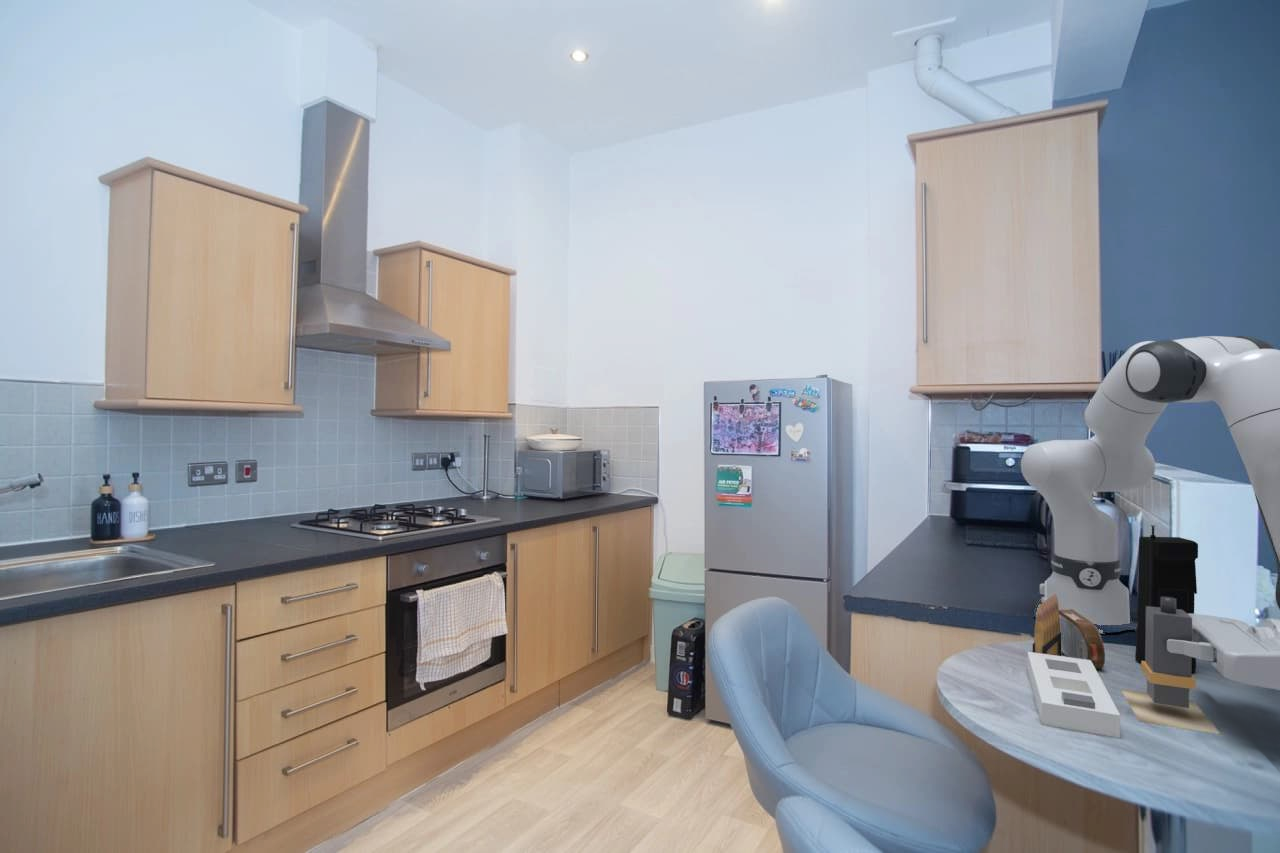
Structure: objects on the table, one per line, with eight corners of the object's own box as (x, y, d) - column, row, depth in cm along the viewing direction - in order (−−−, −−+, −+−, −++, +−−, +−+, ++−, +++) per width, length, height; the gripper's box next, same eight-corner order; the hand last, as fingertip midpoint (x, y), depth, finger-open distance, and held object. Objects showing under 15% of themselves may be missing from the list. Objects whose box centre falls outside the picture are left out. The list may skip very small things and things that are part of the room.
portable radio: (1178, 661, 118) (1180, 522, 118) (1204, 674, 112) (1206, 528, 112) (1132, 659, 119) (1133, 521, 119) (1154, 672, 113) (1156, 527, 113)
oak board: (1120, 695, 104) (1120, 689, 104) (1192, 706, 100) (1192, 699, 100) (1139, 727, 93) (1139, 720, 93) (1221, 741, 89) (1221, 734, 89)
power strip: (1027, 674, 112) (1027, 646, 112) (1090, 684, 108) (1090, 655, 108) (1041, 730, 92) (1042, 696, 92) (1119, 744, 88) (1120, 709, 88)
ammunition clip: (1044, 676, 111) (1044, 606, 111) (1031, 673, 113) (1032, 603, 113) (1061, 660, 119) (1062, 594, 119) (1049, 657, 120) (1050, 592, 120)
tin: (1106, 679, 110) (1107, 629, 110) (1085, 677, 111) (1086, 628, 111) (1067, 647, 125) (1068, 603, 125) (1049, 646, 126) (1049, 602, 126)
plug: (1140, 690, 100) (1142, 591, 100) (1184, 696, 98) (1185, 595, 97) (1149, 703, 95) (1151, 600, 95) (1195, 710, 93) (1196, 605, 93)
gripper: (1255, 609, 100) (1142, 598, 106) (1322, 654, 82) (1181, 637, 88) (1254, 651, 100) (1142, 637, 106) (1321, 704, 82) (1181, 684, 88)
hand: (1160, 638), depth 97 cm, fingers closed on plug, 4 cm apart
